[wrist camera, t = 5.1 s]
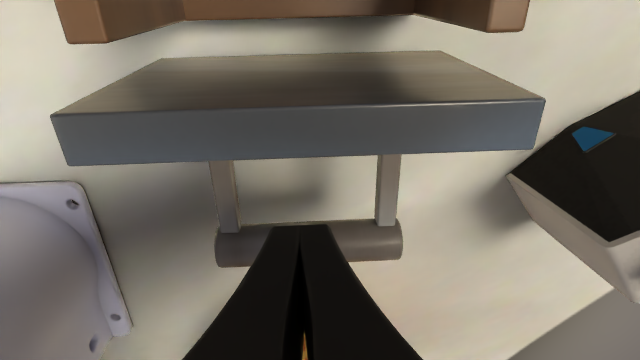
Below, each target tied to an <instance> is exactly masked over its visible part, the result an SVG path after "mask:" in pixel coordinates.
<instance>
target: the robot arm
mask: <svg viewBox="0 0 640 360" xmlns="http://www.w3.org/2000/svg"><path fill="white" fill-rule="evenodd" d="M71 200H74V201H76V202H77V203H78V204H79V205H76V204H74V203H73V202H72V201H71ZM117 314H118V315H117ZM132 327H133V326H132V322H131V320H130V317H129V314H128V311H127V308H126V306H125V303H124V300H123V297H122V294H121V292H120V289H119V286H118V283H117V280H116V278H115V275H114V272H113V269H112V267H111V264H110V261H109V258H108V255H107V253H106V250H105V247H104V244H103V241H102V239H101V236H100V233H99V230H98V227H97V225H96V222H95V219H94V216H93V213H92V211H91V208H90V205H89V202H88V199H87V197H86V194H85V191H84V189H83V188H82V186H80V185H79V184H78V183H76V182H71V181H62V182H36V183H9V184H0V360H100V358H101V356H102V354H103V352H104V351H105V349H106V347H107V345H108V343H109V341H110V340H111V338H112V337H118V336H126V335H128V334H129V333H130V332H131V329H132ZM304 331H305V340H306V348H307V357H308V360H423V359H422V358H421V357H420V356H419V355H418V354H417V353H416V351H415V350H414V349H413V348H412V347H411V346H410V345H409V344H408V342H407V341H406V340H405V339H404V338H403V337H402V336H401V334H400V333H399V332H398V331H397V330H396V329H395V327H394V326H393V325H392V324H391V322H390V321H389V320H388V319H387V317H386V316H385V315H384V314H383V312H382V311H381V310H380V308H379V307H378V306H377V304H376V303H375V302H374V301H373V299H372V298H371V296H370V295H369V294H368V292H367V291H366V289H365V288H364V286H363V285H362V283H361V282H360V280H359V279H358V277H357V276H356V274H355V273H354V271H353V270H352V268H351V267H350V265H349V263H348V262H347V260H346V258H345V257H344V255H343V253H342V251H341V250H340V248H339V246H338V244H337V242H336V240H335V238H334V235H333V233H332V230H331V228H330V227H329V226H328V225H327V224H316V225H293V226H274V227H273V228H272V229H271V230H270V231H269V234H268V236H267V238H266V240H265V242H264V244H263V246H262V248H261V250H260V252H259V253H258V255H257V257H256V259H255V260H254V262H253V264H252V265H251V267H250V269H249V270H248V272H247V273H246V275H245V277H244V278H243V280H242V281H241V283H240V284H239V286H238V288H237V289H236V291H235V292H234V293H233V295H232V296H231V298H230V299H229V300H228V302H227V303H226V305H225V306H224V307H223V309H222V310H221V311H220V313H219V314H218V316H217V317H216V318H215V320H214V321H213V322H212V324H211V325H210V326H209V328H208V329H207V330H206V331H205V333H204V334H203V335H202V336H201V338H200V339H199V340H198V341H197V343H196V344H195V345H194V346H193V347H192V349H191V350H190V351H189V352H188V353H187V354H186V356H185V357H184V358H183V359H182V360H302V358H303V345H304Z"/></svg>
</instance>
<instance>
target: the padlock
mask: <svg viewBox="0 0 640 360" xmlns="http://www.w3.org/2000/svg"><path fill="white" fill-rule="evenodd" d="M506 177H507V179H508V181H509V182H510V184H511V185H512V187H513V189H514V190H515V192H516V194H517V195H518V197H519V198H520V200H521V202H522V203H523V205H524V207H525V208H526V210H527V211H528V213H529V215H530V216H531V218H532V220H533V221H534V222H535V223H537V224H538V225H539V226H540V227H541V228H543V229H544V230H545V231H546V232H547V233H549V234H550V235H551V236H552V237H554V238H555V239H556V240H557V241H558V242H560V243H561V244H562V245H563V246H564V247H566V248H567V249H568V250H569V251H571V252H572V253H573V254H574V255H575V256H577V257H578V258H579V259H580V260H581V261H583V262H584V263H585V264H586V265H587V266H589V267H590V268H591V269H592V270H594V271H595V272H596V273H597V274H598V275H600V276H601V277H602V278H603V279H604V280H606V281H607V282H608V283H609V284H610V285H612V286H613V287H614V288H615V289H617V290H618V291H619V292H620V293H621V294H623V295H624V296H625V297H626V298H627V299H629V300H630V301H631V302H633V303H636V304H640V92H638V93H636V94H634V95H632V96H630V97H628V98H626V99H624V100H622V101H620V102H618V103H616V104H614V105H612V106H610V107H608V108H605V109H603V110H601V111H599V112H597V113H595V114H593V115H591V116H589V117H587V118H585V119H583V120H581V121H579V122H577V123H575V124H573V125H571V126H570V127H568V128H567V129H565V130H564V131H563V132H561V133H560V134H559V135H558V136H556V137H555V138H554V139H553V140H551V141H550V142H549V143H547V144H546V145H545V146H544V147H542V148H541V149H540V150H538V151H537V152H536V153H535V154H533V155H532V156H531V157H530V158H528V159H527V160H526V161H524V162H523V163H522V164H521V165H519V166H518V167H517V168H515V169H514V170H513V171H512V172H510V173H509V174H508V175H506Z"/></svg>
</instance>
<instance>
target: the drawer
mask: <svg viewBox="0 0 640 360" xmlns="http://www.w3.org/2000/svg"><path fill="white" fill-rule="evenodd" d="M54 2H55V5H56V8H57V12H58V15H59V18H60V21H61V24H62V27H63V31H64V34H65V37H66V40H67V42H68V43H69V44H104V43H110V42H113V41H117V40H120V39H124V38H127V37H131V36H134V35H138V34H141V33H145V32H148V31H151V30H155V29H158V28H162V27H165V26H169V25H172V24H176V23H179V22H183V21H199V20H238V19H277V18H316V17H356V16H395V15H417V16H421V17H425V18H429V19H433V20H437V21H441V22H446V23H450V24H454V25H458V26H462V27H466V28H470V29H474V30H478V31H482V32H486V33H504V32H520V31H522V30H523V28H524V25H525V21H526V16H527V12H528V7H529V2H530V0H54ZM545 102H546V100H545V98H543V97H541V96H538V95H536V94H534V93H532V92H530V91H528V90H525V89H523V88H521V87H519V86H517V85H514V84H512V83H510V82H508V81H506V80H503V79H501V78H499V77H497V76H495V75H492V74H490V73H488V72H486V71H484V70H482V69H479V68H477V67H475V66H473V65H471V64H468V63H466V62H464V61H462V60H460V59H457V58H455V57H453V56H451V55H449V54H447V53H444V52H442V51H405V52H370V53H335V54H299V55H264V56H229V57H194V58H161V59H159V60H157V61H155V62H153V63H151V64H149V65H147V66H145V67H144V68H142V69H140V70H138V71H136V72H134V73H132V74H130V75H128V76H126V77H124V78H122V79H120V80H118V81H116V82H114V83H112V84H110V85H108V86H106V87H104V88H102V89H100V90H98V91H96V92H94V93H92V94H90V95H88V96H86V97H84V98H82V99H80V100H78V101H77V102H75V103H73V104H71V105H69V106H67V107H65V108H63V109H61V110H59V111H57V112H55V113H53V114H51V115H50V118H51V121H52V124H53V127H54V129H55V132H56V135H57V137H58V140H59V143H60V146H61V148H62V151H63V154H64V156H65V159H66V162H67V164H68V165H69V166H92V165H120V164H147V163H174V162H201V161H208V162H209V168H210V174H211V179H212V185H213V191H214V196H215V202H216V208H217V214H218V219H219V225H220V226H219V227H218V228H217V231H216V234H215V243H214V250H215V259H216V263H217V265H218V267H220V268H227V267H249V266H251V265H252V264H253V262H254V260H255V259H256V257H257V255H258V253H259V252H260V250H261V248H262V246H263V244H264V242H265V240H266V238H267V236H268V234H269V231H270V230H271V229H272V228H273V227H274V226H293V225H316V224H327V225H328V226H329V227H330V228H331V230H332V233H333V235H334V238H335V240H336V242H337V244H338V246H339V248H340V250H341V251H342V253H343V255H344V257H345V258H346V260H347V262H360V261H382V260H398V259H400V258H401V255H402V249H403V239H402V231H401V226H400V223H399V221H398V219H396V210H397V199H398V187H399V176H400V165H401V154H420V153H447V152H474V151H502V150H529V149H533V147H534V144H535V140H536V136H537V132H538V129H539V125H540V121H541V117H542V113H543V110H544V106H545ZM365 155H378V161H377V179H376V197H375V215H374V217H375V219H355V220H331V221H307V222H283V223H259V224H241V214H240V207H239V200H238V193H237V186H236V179H235V172H234V165H233V160H256V159H283V158H311V157H338V156H365Z"/></svg>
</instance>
